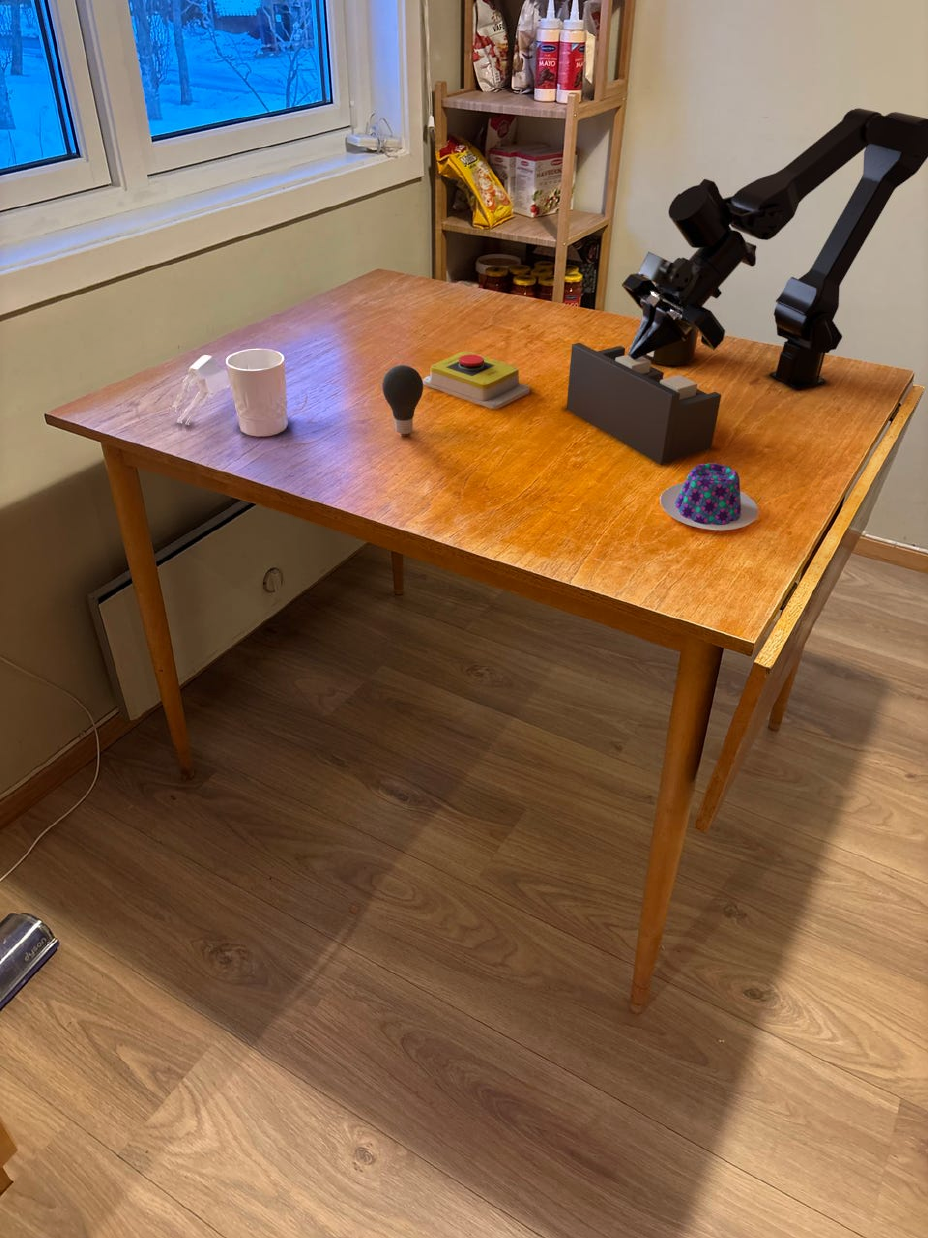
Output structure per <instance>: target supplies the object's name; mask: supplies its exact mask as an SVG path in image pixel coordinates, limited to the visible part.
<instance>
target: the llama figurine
mask: <svg viewBox="0 0 928 1238" xmlns="http://www.w3.org/2000/svg"><path fill="white" fill-rule="evenodd" d="M196 383H197V387H198V389H199V391H198V392H197V393H196V395H195V396H194V398H193V399H192V401H191V402H190V403H189V404H188V406H187V407H186V409H184V411H183V412H182V410H183V407H184V405H185V404H186V401H187V399H188V397H189V395H190V393H191V389H192V388H193V386H194V385H195V384H196ZM186 386H187V390H186V394H185V396H184V398H183V401H182V403H181V405H180V407H179V404H180V402H181V400H182V397H183V395H184V390H185V388H186ZM229 387H230V388H231V385H230V380H229V375H228V370H227V369H226V368H224V367H222V366H221V365H219V364H218V362H217V361H216V359H215V358H214V357H213V356H212V355H209V354H203V355H202V356H200V358H198V359H197V360H196V361H195V362H194V363H193V364H192V365H191V366H189V367H188V375H187V376H186V377H185V378H184V379H183V380H182V381H181V387H180V390H179V391H178V394H177V396H176V399H174V402H173V404H172V405H170V408H169V411H171V412H173V413H174V414H176V413H178V415H180V416H179V417H178V418H177V420H176V423H177V424H183V419H185V417H186V416H187V415H188V414H189V412H190V411H192V409H193V408H194V406H196V405H197V403H199V404H198V405H197V406H196V408H195V409H194V410H193V411H192V413H191V414H190V415H189V417H188V418H187V420H186V421H185V423H184V425H187V426H190V421H191V420H192V419H193V417H194V416H195V415H196V414H197V413H198V411H199V410H200V409H201V408H202V406H203V405H204V404H205V403H206V401H208V399H210V400H211V399H213V398H214V396H215V395H216V394H217V393H219V392H222V391H223V390H226V389H227V388H229ZM200 400H201V401H200ZM177 408H178V410H177Z"/></svg>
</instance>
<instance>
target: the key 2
mask: <svg viewBox="0 0 928 1238" xmlns="http://www.w3.org/2000/svg"><path fill="white" fill-rule="evenodd" d="M660 383H661V384H663V385H665V386H667V387H669V388H671V389H673V390H675V391H677V392H679V393H680V396H679V400H681V399H685V398H688V397H692V396H695V395H696V390H697V389H698V383H697V382H695V381H693V380H691V379H689V378H686V377H685V376H683V375H680V374H677V375H674V376H669V377H665V378H663V379H662V380H660Z"/></svg>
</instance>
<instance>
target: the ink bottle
mask: <svg viewBox="0 0 928 1238" xmlns="http://www.w3.org/2000/svg"><path fill="white" fill-rule="evenodd" d="M655 286H656V285H655ZM656 287H657V286H656ZM657 289H658V288H657ZM658 290H659V289H658ZM659 291H660V293H662V291H661V290H659ZM667 307H669V306H668V305H667ZM678 313H679V312H678ZM698 335H699V331H697V330H695V329H694V328H692V329H691V330H690V331H689V332H688V333H687V334H686V336H687V337H688V339H687V340H686V341H684V340H680V341H677V342H675V343H672V344H669V345H667V346H664V347H662V348H659V349H657V350H655V351H653V352H650V353H648V354H646V355H644V356H642V357H644V358H646V359H648V360H650V361H651V363H652V364H657V365H660V366H671V367H673V366H684V365H687V364H689V363H691V362H692V361H693V360H694V357H695V353H696V348H697V341H698Z"/></svg>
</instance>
